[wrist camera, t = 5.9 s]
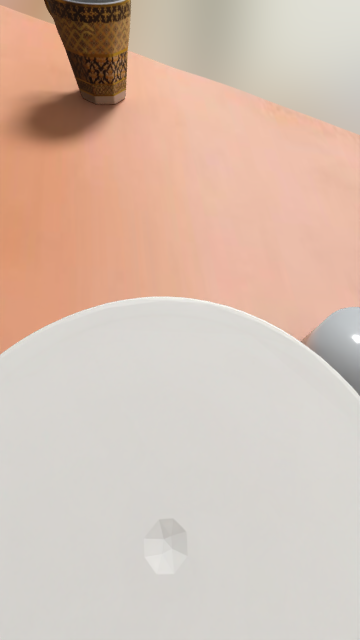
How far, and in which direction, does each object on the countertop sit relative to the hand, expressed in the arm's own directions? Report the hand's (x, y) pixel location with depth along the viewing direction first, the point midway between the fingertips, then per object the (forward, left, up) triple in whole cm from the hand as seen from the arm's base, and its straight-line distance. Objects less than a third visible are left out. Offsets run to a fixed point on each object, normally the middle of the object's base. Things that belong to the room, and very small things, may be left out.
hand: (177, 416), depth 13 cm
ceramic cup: (+2, +49, -6) cm, 50 cm away
